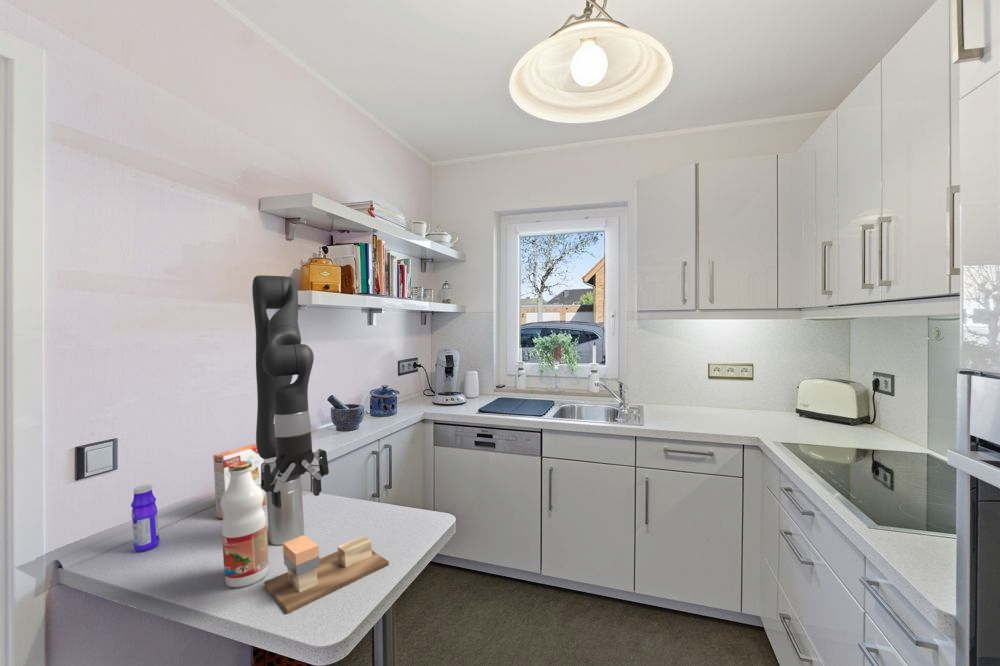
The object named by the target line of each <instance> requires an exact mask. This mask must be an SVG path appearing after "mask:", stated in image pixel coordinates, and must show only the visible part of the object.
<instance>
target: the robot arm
mask: <svg viewBox="0 0 1000 666" xmlns="http://www.w3.org/2000/svg"><path fill="white" fill-rule="evenodd" d="M251 289H252V291H251V292H252V304H253V306H252V307H253V313H254V314H253V316H254V326H255V378H256V393H257V394H256V396H257V409H256V410H257V414H256V426H255V427H256V429H255V430H256V432H255V444H256V446H257V451H258V454H259V456H260V457H261V458H263V459H264V460H270V459H273V458H274V459H275V460H274V461H273V462H265V461H264V463H262V464H261V489H262V490H264V491H265V496H266V512H267V513H266V514H267V524H268V525H267V526H268V529H267V531H268V543H269V544H271V545H275V546H281V545H282V546H283V543H284V542H287V541H289V540H292V539H295V538H297V537H300V536H303V535H305V521H304V519H305V517H304V505H303V504H304V503H303V486H302V475H304V474H305V473H308V474H309V475H310V476H311V477H312V479H311V483H312V487H311V488H312V494H313V496H314V497H317V496H320V493H321V492H322V478H323V477H324V476H327V475H329V472H330V471H329V470H330V469H329V463H328V462H329V461H328V454H327V451H326V450H324V449H322V448H319V449H318V450H317V451H314V452H313V443H312V442H313V441H312V440H313V439H312V424H311V417H310V411H309V399H308V398H309V394H308V392H309V391H308V390H309V382H310V377H311V373H312V369H313V364H314V359H315V358H314V351H313V350H312V348H311V347H310V346H309V345H307V344H305V343H304V344H303V343H302V336H301V333H300V332H301V331H300V326H299V321H298V320H299V294H298V291H299V290H298V286H297V281H295V279H294V278H293V277H291V276H285V275H265V274H264V275H261V274H260V275H255V276H254V278H253V279H252V287H251ZM267 310H277V311H275V313H274V314H273V315H272V316H271V318H270V317H269V316H268V313H267ZM294 376H297V377H296V380H294V382H292V380H293V377H294ZM315 459H316V460H317V461H318V462H317V463H318V466H319V467H318V468H319V469H318V471H317V470H316V469H315V467H313V466H312V463H313V461H314V460H315Z"/></svg>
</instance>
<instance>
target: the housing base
mask: <svg viewBox="0 0 1000 666" xmlns="http://www.w3.org/2000/svg"><path fill="white" fill-rule="evenodd" d="M319 559H320V555H319V556H318V557H316V558H313V559H311V560H309V561H306V562H304V563H301V564H299V565H295V564H294V563H293V562H292V561H291V560H290V559H289V558H288V557H287V556H286V555H285V554H283V565H284V566H285V567H286V568H287V567H288V568H289V569H290V570H291V571H292V572H293V573H294V574H295V575H296V576H297V577H298V576H300V575H302V574H304V573H307V572H309V571H311V570H314V569H316V568H318V567H320V566H319Z"/></svg>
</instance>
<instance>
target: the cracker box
mask: <svg viewBox="0 0 1000 666" xmlns="http://www.w3.org/2000/svg"><path fill="white" fill-rule="evenodd" d="M212 458H213V476H214V492H215V493H214V494H215V496H214V497H215V511H216V512H215V513H216V518H218V519H222V520H223V518H224V515H223V512H222V510H221V499H222V496H223V495H224V493H225V492H226V490H227V488H228V486H229V482H230V477H231V474H230V473H229V465H230V464H232V463H235V462H240V461H251V462H252V469H251V474H252V477H253V479H254V481H255V483H256V484H257V485H258V486H259V487H260V488H261V464H262V463H264V462H265V459H263V458H261V457H260V456H259V454H258V451H257V446H256V443H252V444H249V445H245V446H242V447H237V448H235V449H231V450H227V451H223V452H220V453H215V454H213V457H212ZM263 494H264V500H263V505H267V498H266V492H265V491H264V490H263ZM263 505H262V506H263Z"/></svg>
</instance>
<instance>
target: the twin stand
mask: <svg viewBox="0 0 1000 666" xmlns="http://www.w3.org/2000/svg"><path fill="white" fill-rule="evenodd" d="M372 549H373V548H372V540H370V539H369V538H368V537H366V536H364V535H362V536H359V537H357V538H354V539H352V540H350V541H348V542H344V543H343V544H340V545H338V546H337V551H335V552H332V553H330V554H327V555H325V556H322V557H319V566H320V567H318V568H316V569H314V570H311V571H309V572H307V573H304V574H302V575H300V576H298V577H297V576H296V575H295V574H294V573H293V572H292V571H291V570H290V569H289V568H288V567H287V566H286V568H287V572H284V573H282V574H280V575H277V576H275V577H272V578H270V579H268V580H265V581H264V583H263V585H264V587H265V588H266V590H267V591H268V592H269V594H270V595H271V596H272V597H273V598H274V600H276V602H277V603H278V604H279V605H280V606H281V608H282V609H283V610H284V611H285V612H286V614H290V613H292V612H294V611H296V610H298V609H301V608H303V607H304V606H306V605H307V606H308V605H309V604H312V603H313V602H315V601H317V600H319V599H321V598H323V597H326V596H327V595H328V596H329V594H332V593H334V592H336V591H337V590H339V589H342V588H344V587H347V586H349V585H350V584H353V583H354V582H356V581H358V580H361V579H363V578H365V577H367V576H369V575H371V574H373V573H376V572H377V571H379V570H382V569H383V568H386V567H387V566H389V563H390V562H389V560H388V559H386V558H384V557H383V556H382V555H380V554H378V552H375V551H374V550H372Z"/></svg>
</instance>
